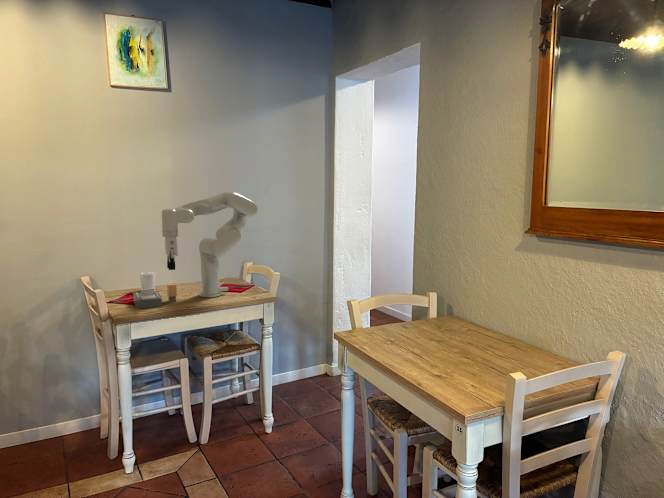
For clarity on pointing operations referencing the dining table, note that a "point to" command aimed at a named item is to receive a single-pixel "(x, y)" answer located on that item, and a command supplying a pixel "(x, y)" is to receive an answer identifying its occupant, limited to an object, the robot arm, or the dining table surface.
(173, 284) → the tan rectangular block
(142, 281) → the white cup
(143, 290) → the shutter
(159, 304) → the grey sliding cover box
